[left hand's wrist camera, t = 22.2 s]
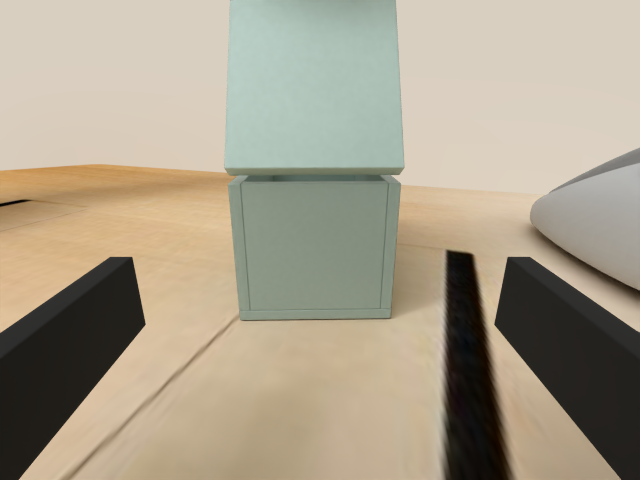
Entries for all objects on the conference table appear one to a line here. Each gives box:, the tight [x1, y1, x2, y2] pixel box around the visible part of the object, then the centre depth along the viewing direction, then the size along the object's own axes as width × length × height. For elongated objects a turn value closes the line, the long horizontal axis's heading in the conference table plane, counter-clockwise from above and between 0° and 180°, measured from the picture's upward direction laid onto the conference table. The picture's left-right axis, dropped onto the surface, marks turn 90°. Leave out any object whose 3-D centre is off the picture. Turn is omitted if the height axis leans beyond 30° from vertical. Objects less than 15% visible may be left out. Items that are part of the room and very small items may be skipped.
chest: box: [228, 175, 401, 320], centre depth 30 cm, size 17×10×9 cm, turn 1°
